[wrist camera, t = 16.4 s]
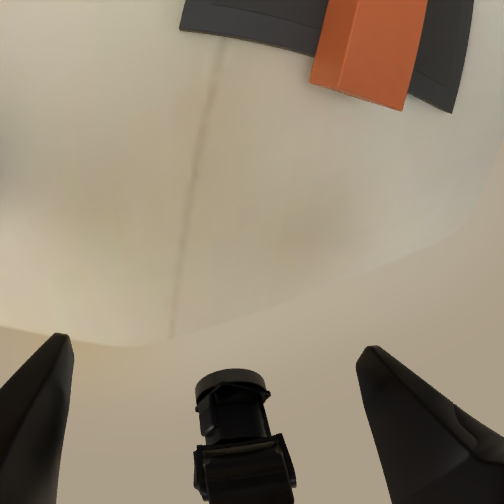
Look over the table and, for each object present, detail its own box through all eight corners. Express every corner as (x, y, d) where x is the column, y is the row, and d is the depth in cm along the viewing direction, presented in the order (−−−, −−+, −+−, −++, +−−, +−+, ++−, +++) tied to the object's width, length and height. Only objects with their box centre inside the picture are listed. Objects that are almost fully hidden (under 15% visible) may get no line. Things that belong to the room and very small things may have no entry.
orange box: (340, -58, 9) (373, -78, 6) (396, -32, 10) (435, -42, 7) (306, 82, 14) (336, 87, 11) (366, 101, 15) (403, 112, 12)
